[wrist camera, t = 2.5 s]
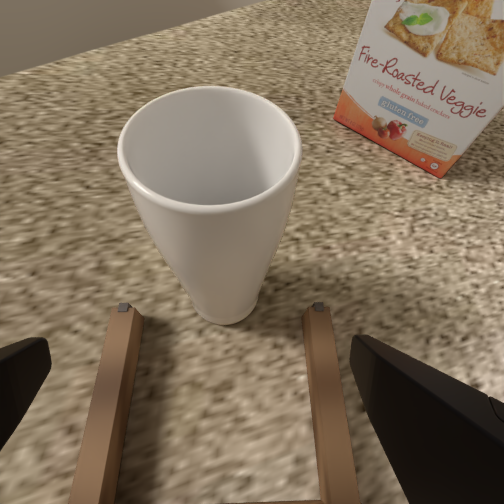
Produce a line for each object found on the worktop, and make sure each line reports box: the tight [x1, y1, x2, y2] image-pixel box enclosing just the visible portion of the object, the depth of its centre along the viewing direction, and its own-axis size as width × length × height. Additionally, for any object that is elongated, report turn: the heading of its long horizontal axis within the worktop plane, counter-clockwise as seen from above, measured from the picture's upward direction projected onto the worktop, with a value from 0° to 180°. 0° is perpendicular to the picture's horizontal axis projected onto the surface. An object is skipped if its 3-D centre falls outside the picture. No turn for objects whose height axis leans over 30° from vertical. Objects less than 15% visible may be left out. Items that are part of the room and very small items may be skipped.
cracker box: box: [333, 0, 504, 178], centre depth 25 cm, size 14×6×21 cm, turn 49°
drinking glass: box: [117, 86, 302, 325], centre depth 17 cm, size 7×7×15 cm
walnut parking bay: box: [68, 302, 362, 504], centre depth 18 cm, size 13×16×3 cm
